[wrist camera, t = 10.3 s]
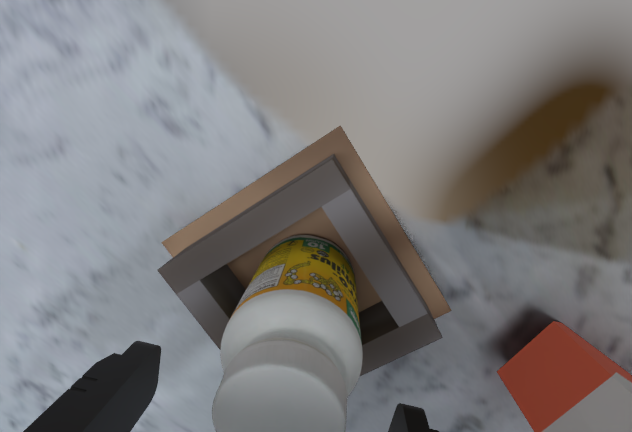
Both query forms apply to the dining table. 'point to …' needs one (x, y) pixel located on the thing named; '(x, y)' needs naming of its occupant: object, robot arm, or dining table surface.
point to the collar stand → (321, 221)
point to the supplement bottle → (292, 343)
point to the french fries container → (568, 385)
